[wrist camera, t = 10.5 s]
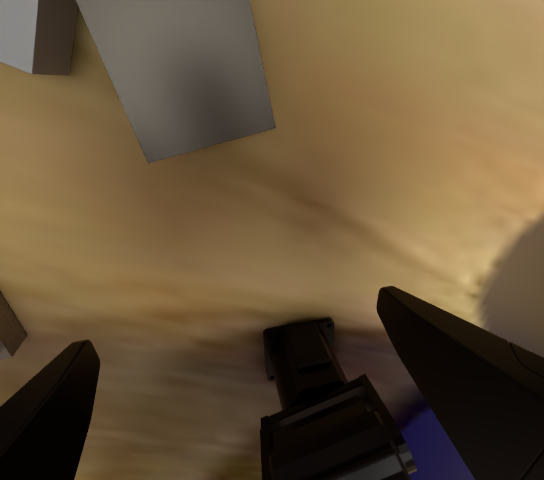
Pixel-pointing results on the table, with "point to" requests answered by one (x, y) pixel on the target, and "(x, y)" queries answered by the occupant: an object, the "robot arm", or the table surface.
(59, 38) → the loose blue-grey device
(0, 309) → the rail
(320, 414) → the robot arm
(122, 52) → the loose grey block
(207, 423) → the table surface
